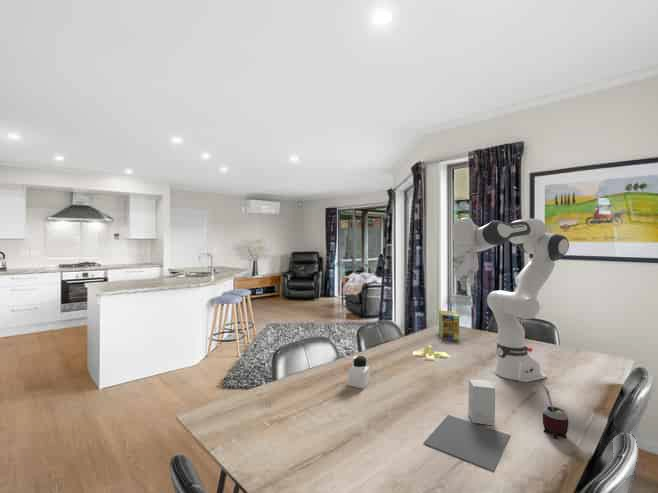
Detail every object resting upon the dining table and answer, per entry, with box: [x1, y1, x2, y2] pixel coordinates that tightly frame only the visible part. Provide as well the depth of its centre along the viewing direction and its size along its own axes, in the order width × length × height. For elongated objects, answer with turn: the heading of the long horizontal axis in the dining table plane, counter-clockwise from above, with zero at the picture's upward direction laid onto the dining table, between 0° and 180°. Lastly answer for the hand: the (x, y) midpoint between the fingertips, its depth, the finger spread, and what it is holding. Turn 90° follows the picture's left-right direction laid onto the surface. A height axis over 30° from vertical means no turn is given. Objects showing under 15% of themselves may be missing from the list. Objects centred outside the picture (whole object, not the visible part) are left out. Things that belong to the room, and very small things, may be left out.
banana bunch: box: [411, 344, 451, 362], centre depth 188 cm, size 22×19×6 cm
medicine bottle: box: [348, 355, 370, 389], centre depth 147 cm, size 7×7×12 cm
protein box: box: [438, 310, 460, 341], centre depth 224 cm, size 10×15×16 cm
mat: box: [422, 414, 511, 473], centre depth 107 cm, size 22×20×1 cm
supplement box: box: [467, 378, 496, 426], centre depth 119 cm, size 7×7×13 cm
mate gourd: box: [539, 381, 569, 440], centre depth 111 cm, size 8×8×15 cm
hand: (467, 286), depth 138 cm, fingers open, 8 cm apart
